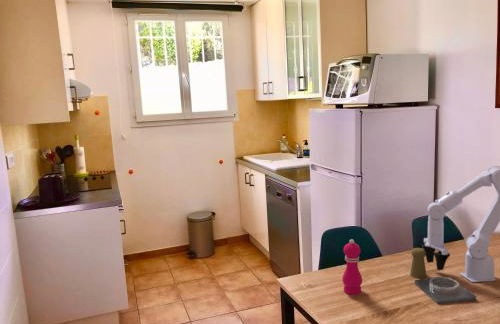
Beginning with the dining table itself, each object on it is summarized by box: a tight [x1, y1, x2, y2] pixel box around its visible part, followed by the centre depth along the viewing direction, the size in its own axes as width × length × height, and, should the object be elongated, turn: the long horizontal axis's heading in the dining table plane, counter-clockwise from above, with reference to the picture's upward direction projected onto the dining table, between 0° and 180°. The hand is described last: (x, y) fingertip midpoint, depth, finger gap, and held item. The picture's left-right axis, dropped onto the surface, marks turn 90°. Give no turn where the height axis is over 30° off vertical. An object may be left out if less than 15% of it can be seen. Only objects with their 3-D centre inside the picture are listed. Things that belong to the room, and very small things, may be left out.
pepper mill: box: [341, 238, 363, 296], centre depth 147 cm, size 7×7×20 cm
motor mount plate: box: [414, 276, 477, 305], centre depth 145 cm, size 14×16×4 cm
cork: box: [409, 247, 427, 279], centre depth 159 cm, size 6×6×11 cm
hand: (434, 265), depth 160 cm, fingers open, 7 cm apart
